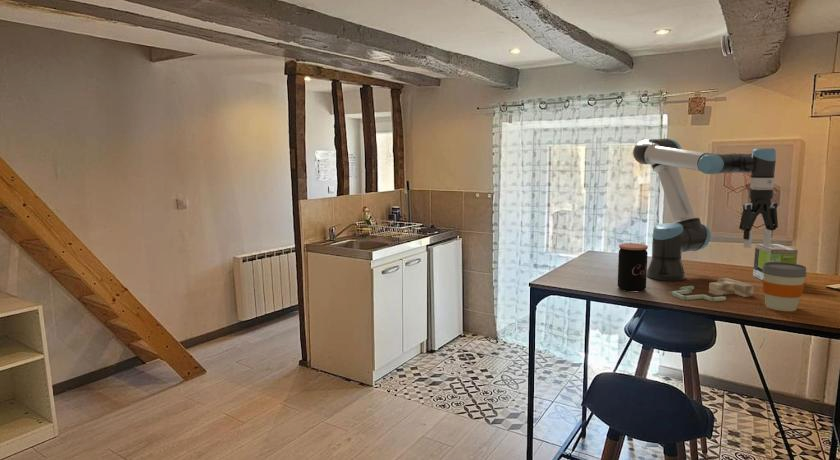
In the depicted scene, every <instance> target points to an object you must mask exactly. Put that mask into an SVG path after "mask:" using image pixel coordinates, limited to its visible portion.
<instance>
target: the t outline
mask: <svg viewBox="0 0 840 460" xmlns="http://www.w3.org/2000/svg"><path fill="white" fill-rule="evenodd" d="M678 287H679V290H672V291H669V295H670V296H673V297H675V298H678V299H680V300H683V301H689V300H697V299H698V300H699V299H703V300H707V301H710V302H712V303H713V302H721V301H726V300H727V297H726V296H725V295H724V296H723V295H721V296H715V297H712V296H709V295H707V294H703V293H702V294H692V293H693V292H692V291H693V290H694V289H695V285H687V286H686V285H685V286H678ZM687 294H688V295H687ZM689 294H692V295H689Z"/></svg>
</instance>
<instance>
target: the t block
mask: <svg viewBox="0 0 840 460" xmlns="http://www.w3.org/2000/svg"><path fill="white" fill-rule="evenodd" d="M754 287H755V285H753V284H749V283H746V282H741V281H739V280H736V279H731V278H728V277H722V278H721V277H719V278H717V281H713V282H709V285H708V293H709V294H712V295H714V296H723V294H725V295H733V294H735V295H737V294H738V296H740V297H744V298H745V297H746V298H747V297H753V296H754Z"/></svg>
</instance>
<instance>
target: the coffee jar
mask: <svg viewBox="0 0 840 460" xmlns="http://www.w3.org/2000/svg"><path fill="white" fill-rule="evenodd" d="M618 247H619V250H618V261H617V288H620V289H621V290H620V289H619V290H620V291H623V290H625V291H624V292H627V291H642V292H644V291H645V290H646V288H647V278H648V276H647V270H648V251H647V249H648V247H649V246H648V245H646V244H644V243H643V244H642V243H635V242H632V243H629V242H627V243H624V242H623V243H620V244H619V245H618ZM643 290H644V291H643Z"/></svg>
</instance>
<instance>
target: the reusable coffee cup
mask: <svg viewBox="0 0 840 460" xmlns="http://www.w3.org/2000/svg"><path fill="white" fill-rule="evenodd" d="M762 272H763V276H764V279H762V280H761V282H762V291H763V293H764V302H765V307H766V308H768V309H771V310H774V311H780V312H795V311H797V310H798V306H799V302H800V298H801V297H802V296H803V293H804V288H805V285H806V283H805V278H806V277H807V266H805V265H802V264H798V263H796V264H793V263H785V262H767V263H764V265H763V270H762Z"/></svg>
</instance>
